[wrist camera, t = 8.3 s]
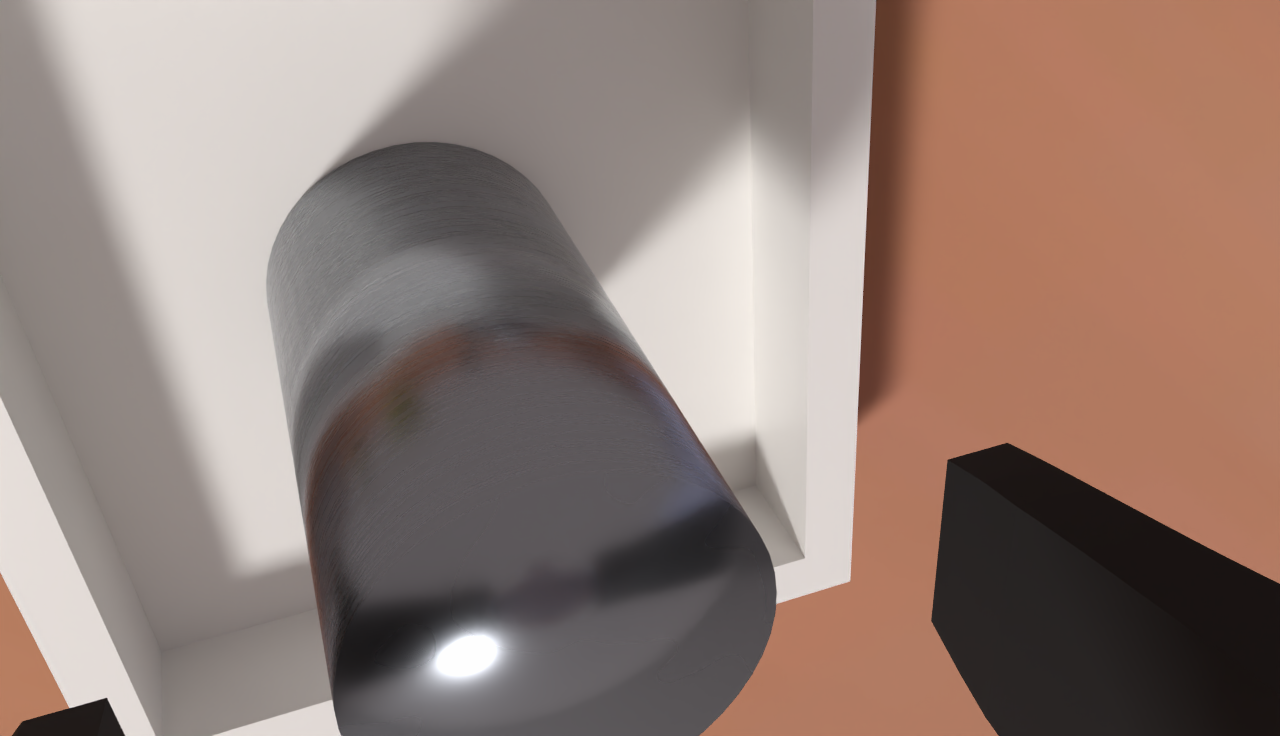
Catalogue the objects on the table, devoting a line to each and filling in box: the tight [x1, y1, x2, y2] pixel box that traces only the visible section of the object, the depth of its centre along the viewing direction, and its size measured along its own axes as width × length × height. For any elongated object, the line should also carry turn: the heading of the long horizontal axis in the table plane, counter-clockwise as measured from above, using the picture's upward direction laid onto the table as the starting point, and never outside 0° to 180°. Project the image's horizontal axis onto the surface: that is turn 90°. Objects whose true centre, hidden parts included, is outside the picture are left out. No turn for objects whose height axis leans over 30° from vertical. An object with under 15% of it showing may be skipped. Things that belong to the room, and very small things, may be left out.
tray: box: [0, 0, 876, 736], centre depth 15 cm, size 11×12×2 cm
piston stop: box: [266, 142, 777, 736], centre depth 13 cm, size 4×4×7 cm
